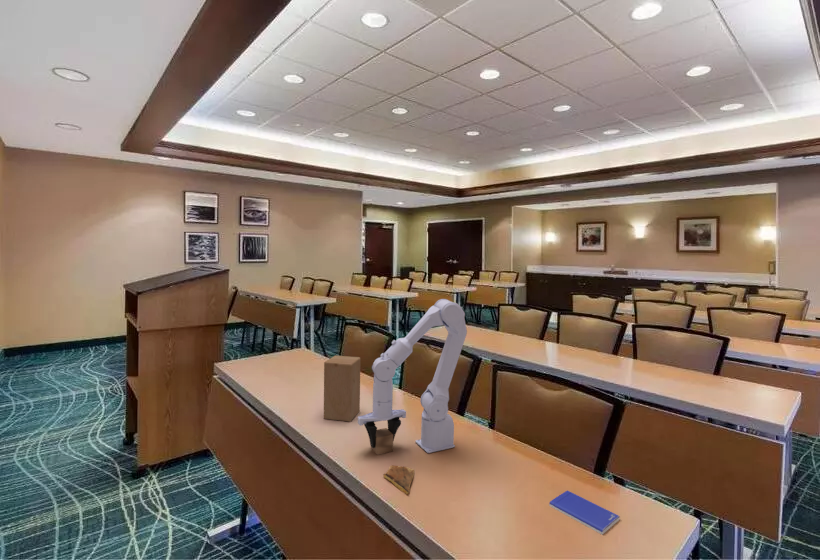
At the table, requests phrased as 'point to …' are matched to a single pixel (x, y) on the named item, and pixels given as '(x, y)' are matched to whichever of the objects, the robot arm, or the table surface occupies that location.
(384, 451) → the walnut cube
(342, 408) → the wooden block
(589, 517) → the hard drive
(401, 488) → the shard
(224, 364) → the table surface
